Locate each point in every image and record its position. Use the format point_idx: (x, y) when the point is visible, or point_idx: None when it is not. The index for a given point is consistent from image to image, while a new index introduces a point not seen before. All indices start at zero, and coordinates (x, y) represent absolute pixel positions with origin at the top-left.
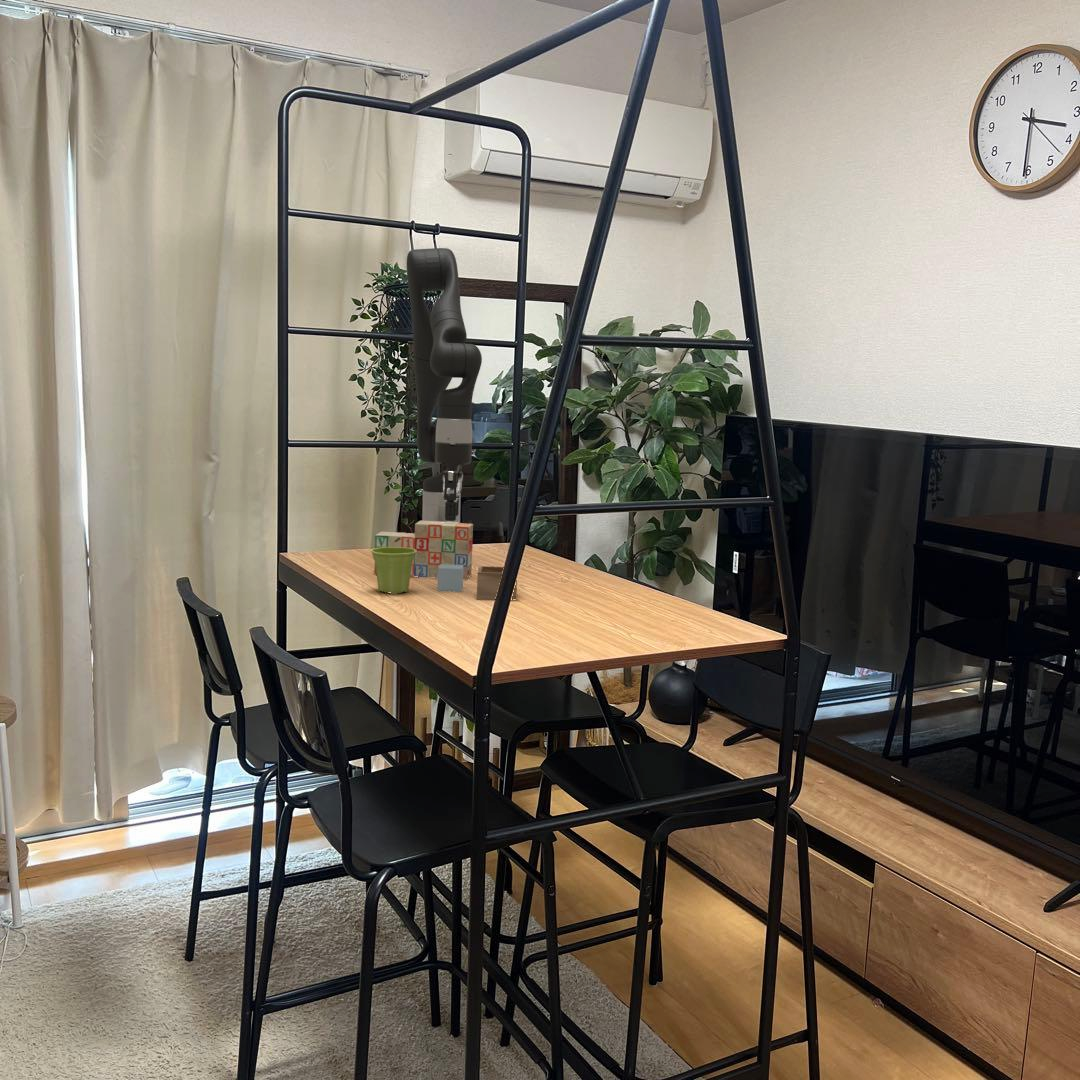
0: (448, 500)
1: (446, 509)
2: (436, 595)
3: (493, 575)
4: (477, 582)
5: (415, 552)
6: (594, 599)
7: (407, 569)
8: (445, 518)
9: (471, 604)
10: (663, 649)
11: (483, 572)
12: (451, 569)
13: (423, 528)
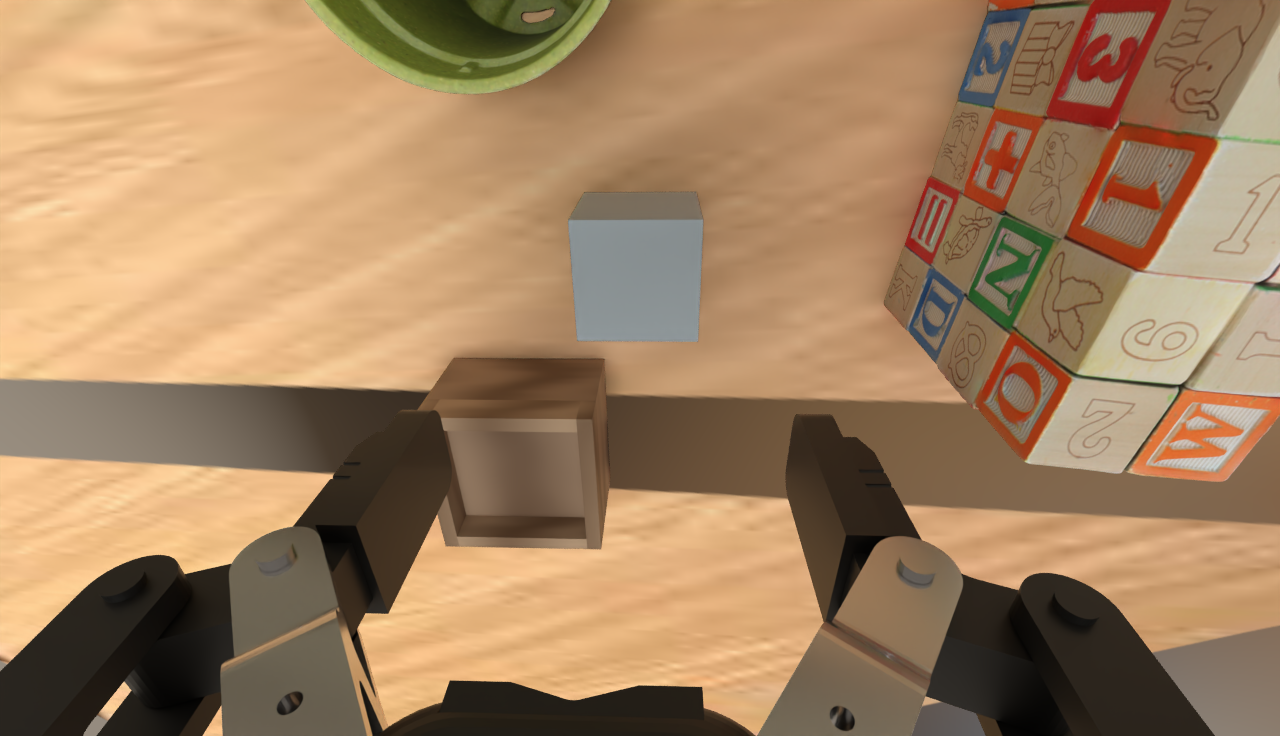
0: (199, 587)
1: (360, 480)
2: (485, 195)
3: None
4: (428, 394)
5: (437, 90)
6: (566, 644)
7: (437, 33)
8: (397, 416)
9: (356, 343)
10: None
11: None
12: (574, 289)
13: (1205, 80)
